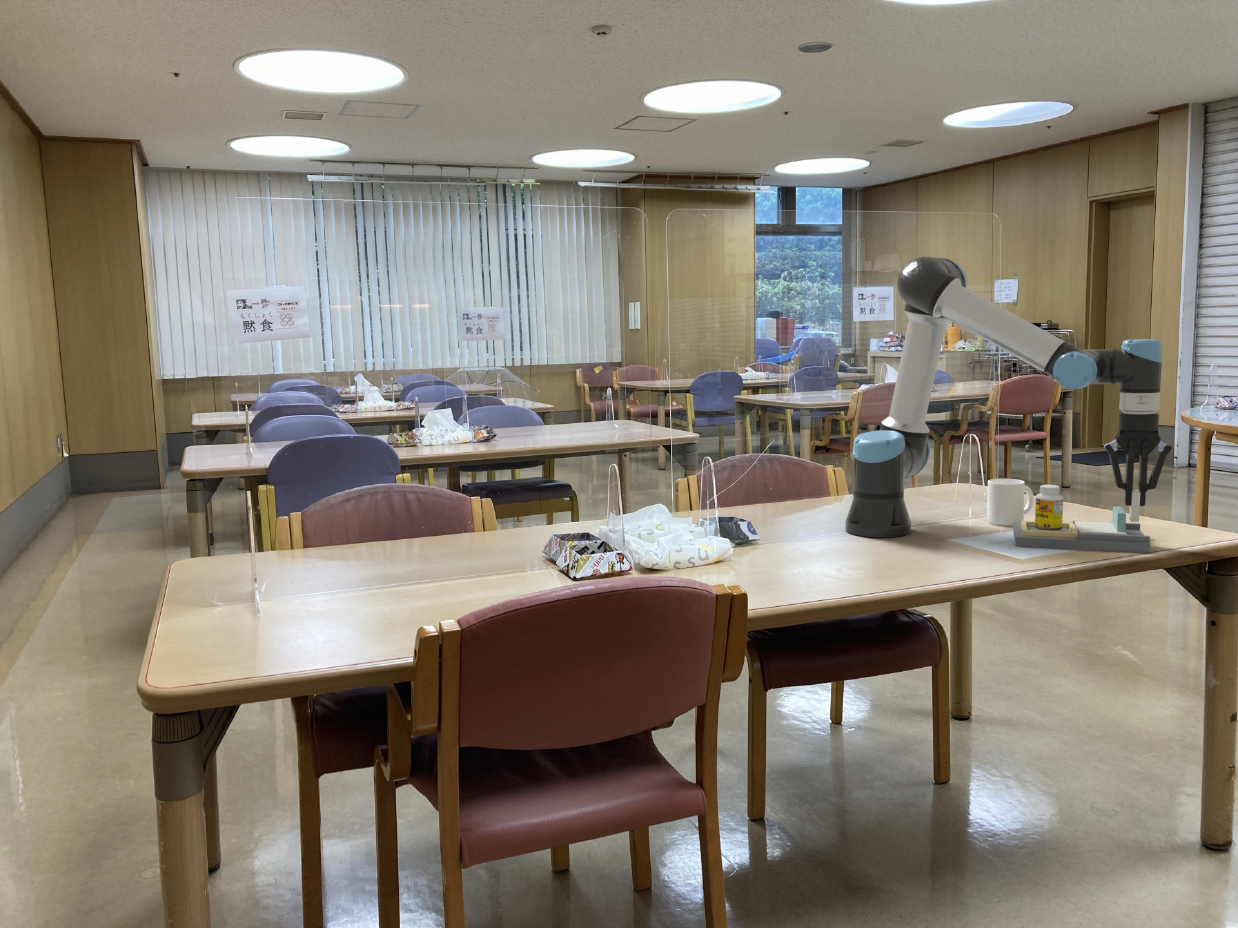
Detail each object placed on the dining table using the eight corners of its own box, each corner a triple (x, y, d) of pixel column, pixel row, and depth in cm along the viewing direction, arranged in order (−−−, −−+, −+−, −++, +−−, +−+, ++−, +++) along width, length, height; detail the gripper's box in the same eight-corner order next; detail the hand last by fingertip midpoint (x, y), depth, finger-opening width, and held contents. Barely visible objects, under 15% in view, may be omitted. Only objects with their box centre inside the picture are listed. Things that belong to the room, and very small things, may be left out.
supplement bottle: (1029, 529, 213) (1030, 485, 212) (1049, 527, 215) (1051, 483, 213) (1046, 534, 208) (1048, 488, 207) (1067, 532, 210) (1069, 487, 208)
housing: (1015, 546, 207) (1015, 531, 206) (1012, 530, 222) (1013, 517, 221) (1150, 552, 198) (1150, 537, 197) (1138, 536, 213) (1138, 522, 212)
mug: (1021, 517, 236) (1022, 476, 235) (1044, 523, 228) (1045, 481, 227) (979, 521, 233) (980, 480, 232) (1001, 527, 226) (1002, 485, 224)
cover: (1079, 537, 204) (1080, 513, 203) (1074, 526, 215) (1075, 503, 214) (1126, 539, 201) (1127, 515, 200) (1118, 528, 212) (1119, 505, 211)
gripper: (1107, 413, 201) (1102, 522, 204) (1177, 413, 196) (1171, 525, 199) (1102, 410, 207) (1098, 515, 211) (1170, 410, 203) (1165, 518, 206)
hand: (1134, 520), depth 205 cm, fingers closed
